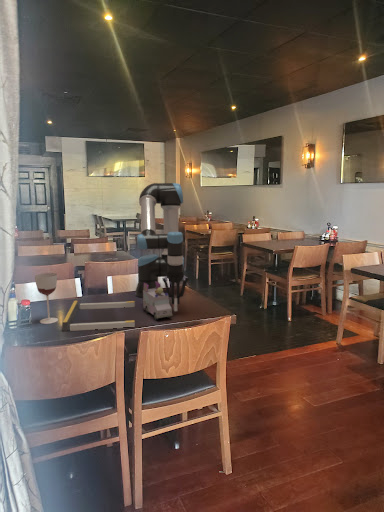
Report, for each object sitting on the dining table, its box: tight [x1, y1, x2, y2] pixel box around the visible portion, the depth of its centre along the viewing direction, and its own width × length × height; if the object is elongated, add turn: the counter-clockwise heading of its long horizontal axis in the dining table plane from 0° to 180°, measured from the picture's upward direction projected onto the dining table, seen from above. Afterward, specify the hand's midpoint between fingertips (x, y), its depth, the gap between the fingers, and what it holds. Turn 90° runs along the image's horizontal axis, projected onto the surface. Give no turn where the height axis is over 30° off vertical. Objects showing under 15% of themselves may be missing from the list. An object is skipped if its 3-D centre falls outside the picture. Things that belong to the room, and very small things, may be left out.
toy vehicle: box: [142, 281, 173, 321], centre depth 185 cm, size 9×20×15 cm, turn 27°
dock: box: [62, 300, 136, 332], centre depth 182 cm, size 31×32×4 cm
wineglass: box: [34, 272, 59, 325], centre depth 176 cm, size 9×10×22 cm
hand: (175, 310), depth 187 cm, fingers closed
